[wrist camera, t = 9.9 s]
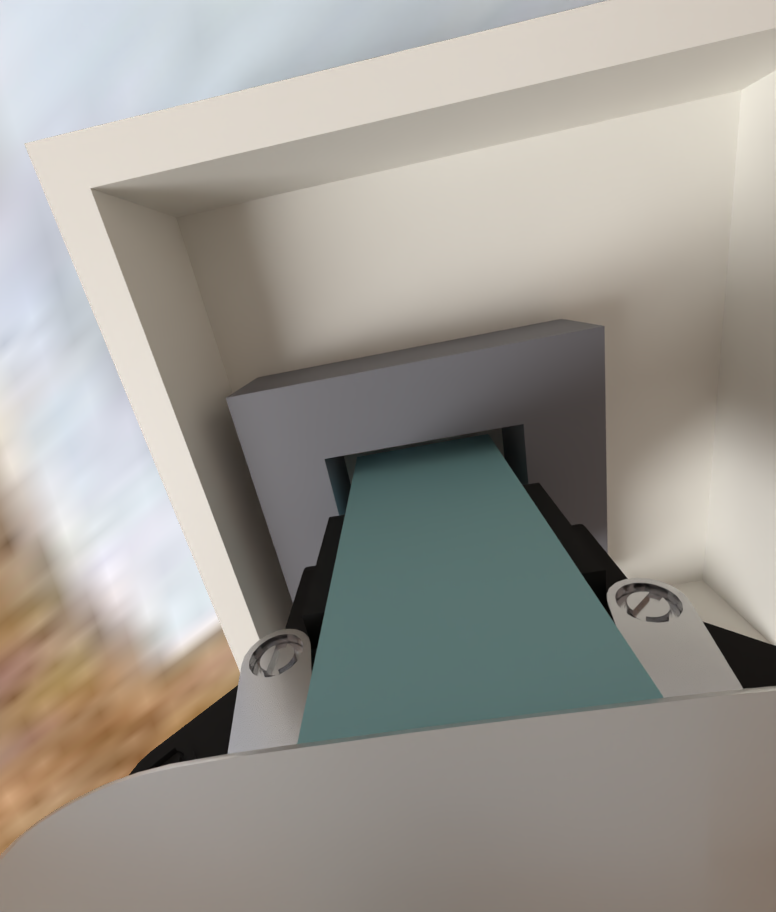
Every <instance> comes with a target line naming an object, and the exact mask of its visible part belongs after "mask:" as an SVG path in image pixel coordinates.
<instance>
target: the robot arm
mask: <svg viewBox="0 0 776 912" xmlns="http://www.w3.org/2000/svg"><path fill="white" fill-rule="evenodd" d="M522 486H523V487H524V489H525V490H526V492H527V493H528V495H529V496H530V498H531V499H532V501H533V502H534V504H535V505H536V507H537V508H538V510H539V511H540V513H541V514H542V516H543V517H544V519H545V520H546V522H547V523H548V525H549V526H550V528H551V529H552V531H553V532H554V534H555V535H556V537H557V538H558V540H559V541H560V543H561V544H562V546H563V547H564V549H565V550H566V552H567V553H568V555H569V556H570V558H571V559H572V561H573V562H574V564H575V565H576V567H577V568H578V570H579V571H580V573H581V574H582V576H583V577H584V579H585V580H586V582H587V583H588V585H589V586H590V588H591V589H592V591H593V592H594V594H595V595H596V597H597V598H598V600H599V601H600V603H601V604H602V606H603V607H604V609H605V610H606V612H607V613H608V615H609V616H610V618H611V619H612V621H613V622H614V624H615V625H616V627H617V628H618V630H619V631H620V633H621V634H622V636H623V637H624V639H625V640H626V642H627V643H628V645H629V646H630V648H631V649H632V651H633V652H634V654H635V655H636V657H637V658H638V660H639V661H640V663H641V664H642V666H643V667H644V668H645V670H646V672H647V673H648V674H649V676H650V677H651V679H652V680H653V682H654V683H655V685H656V686H657V688H658V689H659V691H660V692H661V694H662V695H663V697H664V698H657V699H649V700H640V701H632V702H624V703H615V704H607V705H599V706H590V707H582V708H574V709H565V710H557V711H549V712H541V713H533V714H525V715H517V716H509V717H501V718H493V719H485V720H477V721H469V722H461V723H454V724H446V725H438V726H430V727H422V728H414V729H407V730H399V731H391V732H384V733H376V734H369V735H361V736H354V737H346V738H339V739H331V740H324V741H316V742H308V743H301V744H297V742H298V737H299V733H300V728H301V723H302V718H303V713H304V709H305V704H306V699H307V694H308V690H309V685H310V680H311V675H312V670H313V666H314V661H315V656H316V651H317V647H318V642H319V637H320V632H321V627H322V623H323V618H324V613H325V608H326V603H327V599H328V594H329V589H330V584H331V580H332V575H333V570H334V565H335V560H336V556H337V551H338V546H339V541H340V537H341V532H342V527H343V522H344V517H345V515H339V516H333V517H329V519H328V523H327V526H326V530H325V534H324V537H323V541H322V544H321V548H320V552H319V555H318V559H317V562H316V565H315V566H309V567H306V568H305V569H304V571H303V573H302V576H301V580H300V583H299V586H298V589H297V592H296V595H295V599H294V602H293V605H292V608H291V611H290V614H289V618H288V621H287V624H286V627H285V629H284V630H279V631H276V632H273V633H271V634H268V635H266V636H265V637H263V638H262V639H260V640H258V641H257V642H256V643H255V644H254V645H253V646H252V647H251V648H250V649H249V651H248V652H247V653H246V655H245V656H244V659H243V662H242V665H241V671H240V678H239V684H238V686H236V687H235V688H234V689H232V690H231V691H230V692H228V693H227V694H226V695H225V696H223V697H222V698H221V699H219V700H218V701H217V702H215V703H214V704H213V705H211V706H210V707H209V708H207V709H206V710H205V711H204V712H202V713H201V714H200V715H198V716H197V717H196V718H194V719H193V720H192V721H190V722H189V723H188V724H186V725H185V726H184V727H183V728H181V729H180V730H179V731H177V732H176V733H175V734H173V735H172V736H171V737H169V738H168V739H167V740H165V741H164V742H163V743H162V744H160V745H159V746H158V747H156V748H155V749H154V750H152V751H151V752H150V753H149V754H148V755H147V756H146V757H144V758H143V759H142V760H141V761H140V762H139V763H138V764H137V766H136V767H135V768H134V769H133V771H132V772H131V773H130V774H129V776H126V777H124V778H121V779H118V780H115V781H113V782H110V783H107V784H105V785H102V786H100V787H98V788H96V789H94V790H92V791H90V792H88V793H86V794H84V795H82V796H80V797H78V798H76V799H74V800H72V801H70V802H68V803H66V804H65V805H63V806H61V807H60V808H58V809H56V810H55V811H53V812H51V813H50V814H48V815H47V816H45V817H44V818H42V819H41V820H39V821H38V822H36V823H35V824H34V825H33V826H31V827H30V828H29V829H28V830H26V831H25V832H24V833H23V834H21V835H20V836H19V837H18V838H17V839H16V840H15V841H14V842H13V843H12V844H11V845H10V846H9V847H8V848H7V849H6V850H5V851H4V852H3V853H2V854H1V855H0V912H776V646H775V645H772V644H769V643H766V642H763V641H760V640H757V639H754V638H751V637H748V636H745V635H742V634H739V633H736V632H733V631H730V630H727V629H724V628H721V627H718V626H715V625H712V624H709V623H706V622H703V621H702V620H701V618H700V617H699V615H698V613H697V612H696V610H695V608H694V607H693V605H692V603H691V602H690V600H689V599H688V598H687V597H686V596H685V595H684V594H683V593H682V592H681V591H679V590H678V589H676V588H675V587H673V586H671V585H668V584H666V583H664V582H661V581H656V580H652V579H646V578H631V579H628V578H627V577H626V576H625V574H624V573H623V572H622V571H621V570H620V568H619V567H618V566H617V565H616V563H615V562H614V561H613V560H612V559H611V557H610V556H609V555H608V554H607V552H606V551H605V550H604V549H603V548H602V546H601V545H600V544H599V543H598V541H597V540H596V539H595V538H594V536H593V535H592V534H591V533H590V532H589V530H588V529H587V528H586V527H585V526H584V525H583V524H575V525H571V524H570V522H569V521H568V520H567V519H566V517H565V516H564V515H563V513H562V512H561V511H560V509H559V508H558V507H557V505H556V504H555V503H554V501H553V500H552V499H551V498H550V496H549V495H548V494H547V492H546V491H545V490H544V488H543V487H542V486H541V484H540V483H539V482H538V483H532V484H526V485H522Z"/></svg>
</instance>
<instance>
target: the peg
mask: <svg viewBox="0 0 776 912" xmlns="http://www.w3.org/2000/svg"><path fill="white" fill-rule="evenodd" d="M657 698H664V697H663V695H662V694H661V692H660V691H659V689H658V688H657V686H656V685H655V683H654V682H653V680H652V679H651V677H650V676H649V674H648V673H647V672H646V670H645V668H644V667H643V666H642V664H641V663H640V661H639V660H638V658H637V657H636V655H635V654H634V652H633V651H632V649H631V648H630V646H629V645H628V643H627V642H626V640H625V639H624V637H623V636H622V634H621V633H620V631H619V630H618V628H617V627H616V625H615V624H614V622H613V621H612V619H611V618H610V616H609V615H608V613H607V612H606V610H605V609H604V607H603V606H602V604H601V603H600V601H599V600H598V598H597V597H596V595H595V594H594V592H593V591H592V589H591V588H590V586H589V585H588V583H587V582H586V580H585V579H584V577H583V576H582V574H581V573H580V571H579V570H578V568H577V567H576V565H575V564H574V562H573V561H572V559H571V558H570V556H569V555H568V553H567V552H566V550H565V549H564V547H563V546H562V544H561V543H560V541H559V540H558V538H557V537H556V535H555V534H554V532H553V531H552V529H551V528H550V526H549V525H548V523H547V522H546V520H545V519H544V517H543V516H542V514H541V513H540V511H539V510H538V508H537V507H536V505H535V504H534V502H533V501H532V499H531V498H530V496H529V495H528V493H527V492H526V490H525V489H524V487H523V486H522V484H521V483H520V481H519V480H518V478H517V477H516V475H515V474H514V472H513V471H512V469H511V468H510V466H509V465H508V463H507V462H506V460H505V459H504V457H503V456H502V454H501V453H500V451H499V450H498V448H497V447H496V445H495V444H494V442H493V441H492V439H491V438H490V436H489V435H488V434H485V435H479V436H473V437H468V438H462V439H456V440H451V441H445V442H439V443H434V444H428V445H422V446H417V447H411V448H405V449H399V450H394V451H388V452H382V453H377V454H371V455H365V456H360V457H357V460H356V465H355V470H354V474H353V479H352V484H351V489H350V494H349V498H348V503H347V508H346V513H345V517H344V522H343V527H342V532H341V537H340V541H339V546H338V551H337V556H336V560H335V565H334V570H333V575H332V580H331V584H330V589H329V594H328V599H327V603H326V608H325V613H324V618H323V623H322V627H321V632H320V637H319V642H318V647H317V651H316V656H315V661H314V666H313V670H312V675H311V680H310V685H309V690H308V694H307V699H306V704H305V709H304V713H303V718H302V723H301V728H300V733H299V737H298V742H297V744H301V743H308V742H316V741H324V740H331V739H339V738H346V737H354V736H361V735H369V734H376V733H384V732H391V731H399V730H407V729H414V728H422V727H430V726H438V725H446V724H454V723H461V722H469V721H477V720H485V719H493V718H501V717H509V716H517V715H525V714H533V713H541V712H549V711H557V710H565V709H574V708H582V707H590V706H599V705H607V704H615V703H624V702H632V701H640V700H649V699H657Z"/></svg>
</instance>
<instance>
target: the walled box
mask: <svg viewBox="0 0 776 912" xmlns="http://www.w3.org/2000/svg"><path fill="white" fill-rule="evenodd" d="M25 147H26V149H27V152H28V154H29V156H30V159H31V161H32V164H33V166H34V169H35V171H36V174H37V176H38V179H39V181H40V183H41V186H42V188H43V191H44V193H45V196H46V198H47V201H48V203H49V205H50V208H51V210H52V213H53V215H54V218H55V220H56V223H57V225H58V227H59V230H60V232H61V235H62V237H63V240H64V242H65V245H66V247H67V250H68V252H69V254H70V257H71V259H72V262H73V264H74V267H75V269H76V272H77V274H78V276H79V279H80V281H81V284H82V286H83V289H84V291H85V294H86V296H87V298H88V301H89V303H90V306H91V308H92V311H93V313H94V316H95V318H96V321H97V323H98V325H99V328H100V330H101V333H102V335H103V338H104V340H105V343H106V345H107V347H108V350H109V352H110V355H111V357H112V360H113V362H114V365H115V367H116V369H117V372H118V374H119V377H120V379H121V382H122V384H123V387H124V389H125V392H126V394H127V396H128V399H129V401H130V404H131V406H132V409H133V411H134V414H135V416H136V418H137V421H138V423H139V426H140V428H141V431H142V433H143V436H144V438H145V440H146V443H147V445H148V448H149V450H150V453H151V455H152V458H153V460H154V463H155V465H156V467H157V470H158V472H159V475H160V477H161V480H162V482H163V485H164V487H165V489H166V492H167V494H168V497H169V499H170V502H171V504H172V507H173V509H174V511H175V514H176V516H177V519H178V521H179V524H180V526H181V529H182V531H183V533H184V536H185V538H186V541H187V543H188V546H189V548H190V551H191V553H192V556H193V558H194V560H195V563H196V565H197V568H198V570H199V573H200V575H201V578H202V580H203V582H204V585H205V587H206V590H207V592H208V595H209V597H210V600H211V602H212V604H213V607H214V609H215V612H216V614H217V617H218V619H219V622H220V624H221V627H222V629H223V631H224V634H225V636H226V639H227V641H228V644H229V646H230V649H231V651H232V653H233V656H234V658H235V661H236V663H237V666H238V668H239V671H241V665H242V662H243V659H244V656H245V655H246V653H247V652H248V651H249V649H250V648H251V647H252V646H253V645H254V644H255V643H256V642H257V641H258V640H260V639H262V638H263V637H265V636H266V635H268V634H271V633H273V632H276V631H279V630H284V629H285V627H286V624H287V621H288V618H289V614H290V611H291V608H292V605H293V602H294V599H295V595H296V592H297V589H298V586H299V583H300V580H301V576H302V573H303V571H304V569H305V568H306V567H309V566H315V565H316V562H317V559H318V555H319V552H320V548H321V544H322V541H323V537H324V534H325V530H326V526H327V523H328V519H329V517H333V516H339V515H345V513H346V508H347V503H348V498H349V494H350V489H351V484H352V479H353V474H354V470H355V465H356V460H357V457H360V456H365V455H371V454H377V453H382V452H388V451H394V450H399V449H405V448H411V447H417V446H422V445H428V444H434V443H439V442H445V441H451V440H456V439H462V438H468V437H473V436H479V435H485V434H488V435H489V436H490V438H491V439H492V441H493V442H494V444H495V445H496V447H497V448H498V450H499V451H500V453H501V454H502V456H503V457H504V459H505V460H506V462H507V463H508V465H509V466H510V468H511V469H512V471H513V472H514V474H515V475H516V477H517V478H518V480H519V481H520V483H521V484H522V485H526V484H532V483H538V482H539V483H540V484H541V486H542V487H543V488H544V490H545V491H546V492H547V494H548V495H549V496H550V498H551V499H552V500H553V501H554V503H555V504H556V505H557V507H558V508H559V509H560V511H561V512H562V513H563V515H564V516H565V517H566V519H567V520H568V521H569V522H570V524H571V525H575V524H583V525H584V526H585V527H586V528H587V529H588V530H589V532H590V533H591V534H592V535H593V536H594V538H595V539H596V540H597V541H598V543H599V544H600V545H601V546H602V548H603V549H604V550H605V551H606V552H607V554H608V555H609V556H610V557H611V559H612V560H613V561H614V562H615V563H616V565H617V566H618V567H619V568H620V570H621V571H622V572H623V573H624V574H625V576H626V577H627V578H628V579H631V578H646V579H652V580H656V581H661V582H664V583H666V584H668V585H671V586H673V587H675V588H676V589H678V590H679V591H681V592H682V593H683V594H684V595H685V596H686V597H687V598H688V599H689V600H690V602H691V603H692V605H693V607H694V608H695V610H696V612H697V613H698V615H699V617H700V618H701V620H702V621H703V622H706V623H709V624H712V625H715V626H718V627H721V628H724V629H727V630H730V631H733V632H736V633H739V634H742V635H745V636H748V637H751V638H754V639H757V640H760V641H763V642H766V643H769V644H772V645H775V646H776V0H608V1H604V2H600V3H596V4H591V5H587V6H583V7H579V8H575V9H571V10H567V11H563V12H559V13H555V14H551V15H547V16H543V17H538V18H534V19H530V20H526V21H522V22H518V23H514V24H510V25H506V26H502V27H498V28H494V29H490V30H485V31H481V32H477V33H473V34H469V35H465V36H461V37H457V38H453V39H449V40H445V41H441V42H437V43H432V44H428V45H424V46H420V47H416V48H412V49H408V50H404V51H400V52H396V53H392V54H388V55H384V56H379V57H375V58H371V59H367V60H363V61H359V62H355V63H351V64H347V65H343V66H339V67H335V68H331V69H326V70H322V71H318V72H314V73H310V74H306V75H302V76H298V77H294V78H290V79H286V80H282V81H278V82H273V83H269V84H265V85H261V86H257V87H253V88H249V89H245V90H241V91H237V92H233V93H229V94H225V95H220V96H216V97H212V98H208V99H204V100H200V101H196V102H192V103H188V104H184V105H180V106H176V107H172V108H167V109H163V110H159V111H155V112H151V113H147V114H143V115H139V116H135V117H131V118H127V119H123V120H119V121H114V122H110V123H106V124H102V125H98V126H94V127H90V128H86V129H82V130H78V131H74V132H70V133H66V134H61V135H57V136H53V137H49V138H45V139H41V140H37V141H33V142H29V143H25Z"/></svg>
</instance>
